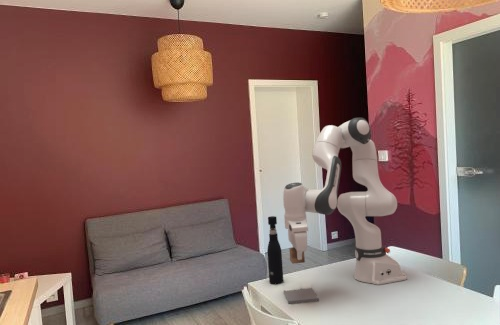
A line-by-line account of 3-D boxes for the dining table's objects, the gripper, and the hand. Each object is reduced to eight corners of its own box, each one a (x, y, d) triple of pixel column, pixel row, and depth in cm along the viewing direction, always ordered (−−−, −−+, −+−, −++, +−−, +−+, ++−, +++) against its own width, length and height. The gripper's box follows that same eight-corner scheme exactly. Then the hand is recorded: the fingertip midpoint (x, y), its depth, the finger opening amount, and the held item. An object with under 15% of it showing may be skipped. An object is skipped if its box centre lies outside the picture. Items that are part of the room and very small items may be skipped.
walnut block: (302, 259, 156) (301, 247, 156) (304, 262, 151) (303, 250, 151) (290, 260, 156) (289, 248, 156) (292, 263, 151) (291, 251, 151)
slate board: (311, 290, 160) (311, 288, 160) (318, 301, 149) (318, 298, 149) (283, 293, 159) (283, 290, 159) (288, 304, 148) (288, 301, 148)
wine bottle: (283, 279, 176) (279, 215, 175) (283, 284, 170) (279, 218, 169) (269, 279, 177) (265, 216, 176) (269, 284, 171) (264, 218, 170)
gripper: (283, 219, 163) (285, 251, 164) (292, 228, 143) (295, 265, 143) (298, 218, 164) (300, 249, 164) (309, 227, 143) (311, 263, 144)
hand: (297, 257), depth 154 cm, fingers closed on walnut block, 5 cm apart
